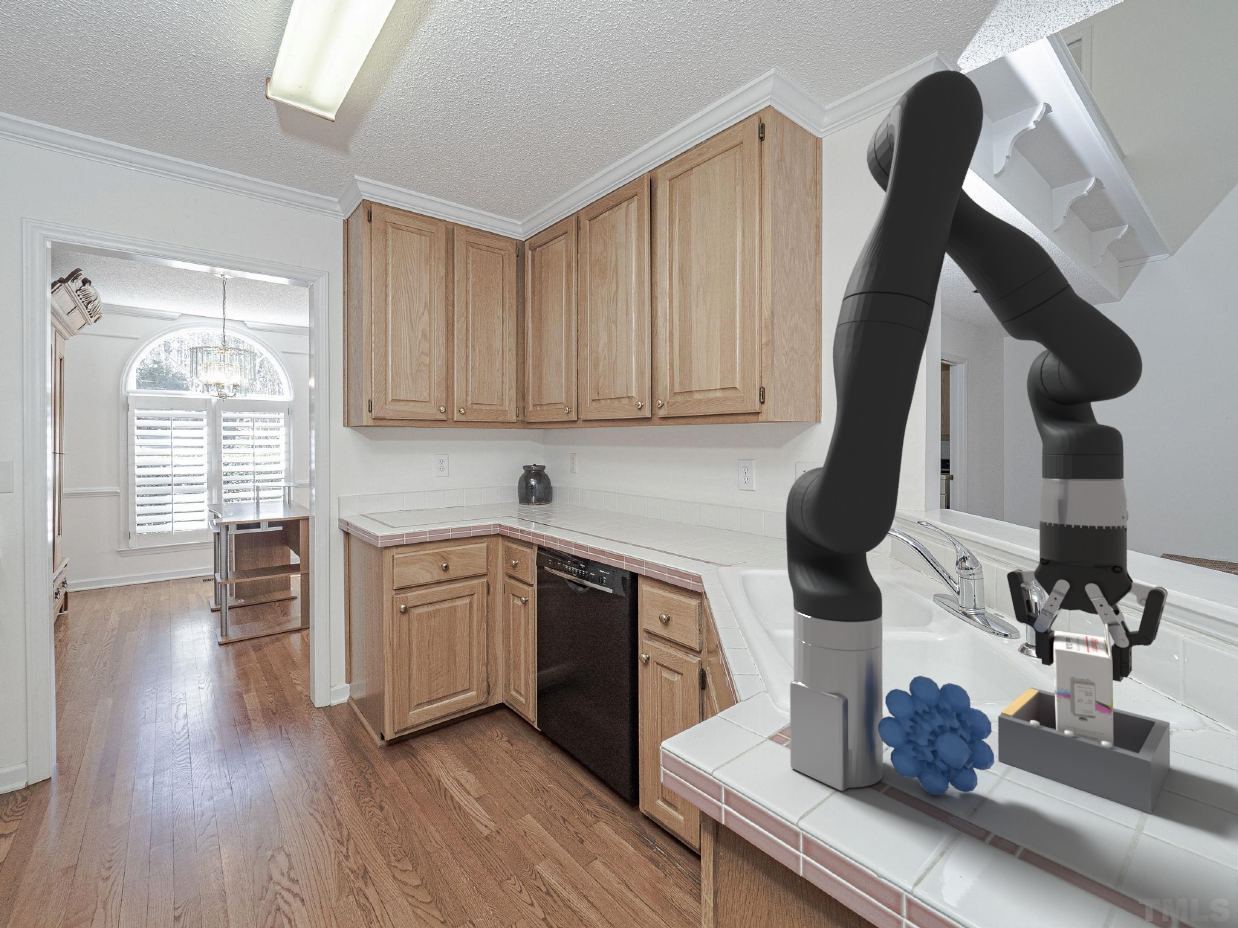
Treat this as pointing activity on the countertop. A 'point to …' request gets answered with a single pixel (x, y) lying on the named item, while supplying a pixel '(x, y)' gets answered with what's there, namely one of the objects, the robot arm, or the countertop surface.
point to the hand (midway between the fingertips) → (1081, 670)
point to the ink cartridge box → (1084, 685)
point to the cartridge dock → (1087, 751)
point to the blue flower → (936, 736)
